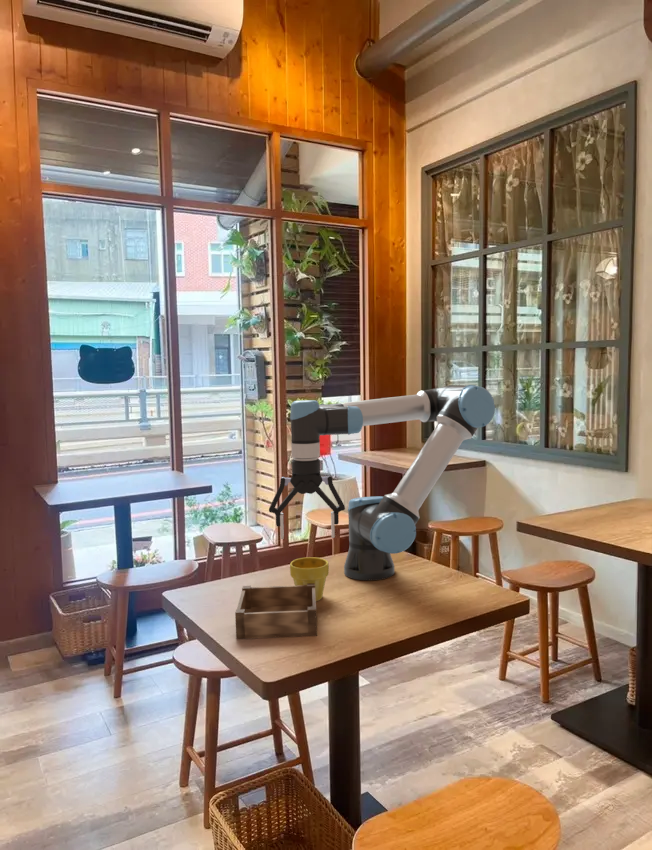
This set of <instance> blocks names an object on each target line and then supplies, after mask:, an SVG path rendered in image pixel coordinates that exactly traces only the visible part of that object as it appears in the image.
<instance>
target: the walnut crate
mask: <svg viewBox="0 0 652 850" xmlns="http://www.w3.org/2000/svg"><path fill="white" fill-rule="evenodd" d="M241 590H242V591H241V593H240V597H239V601H238V604H237V606H236V607H237V608H236V609H235V611H234V612H235V613H234V615H235V637H236V640H238V639H239V640H243V639H247V640H248V639H265V638H266V639H267V638H289V637H293V638H294V637H297V638H298V637H315V636H316V637H317V636H318V623H317V622H318V620H317V604H316V603H317V601H316V596H315V583H309V584H307V585H296V586H295V585H279V586H275V585H274V586H251V585H242V587H241Z"/></svg>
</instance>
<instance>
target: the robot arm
mask: <svg viewBox="0 0 652 850" xmlns="http://www.w3.org/2000/svg"><path fill="white" fill-rule="evenodd" d="M495 413H496V405H495V400H494V397H493V396H492V394H491V393H490V391H489V390H488V389H486V388H485V387H482V386H481V385H479V386H478V385H475V384H468V385H458V384H450V385H449V384H448V385H444V386H440V387H436V388H435V387H434V388H431V389H425V390H423V389H422V390H419V391H418V392H417V393H416V394H409V395H401V396H399V395H398V396H392V397H381V398H374V399H366V400H354V401H346V402H340V403H330V404H329V403H328V404H327V403H326V404H325V403H321V404H320V403H319V401H318V400H313V399H312V400H311V399H309V400H305V399H304V400H294V401H293V402H291V404H290V417H289V420H290V435H291V442H290V447H291V449H290V450H291V451H290V452H291V453H290V454H291V458H292V461H291V477H286V476H281V477H280V483H279V486H278V488H277V491H276V493H275V495H274V498H273V499H272V502H271V504H270V505H269V509H268V512H269V513H273V514H274V515H275V525H276V527H280V540H284V537H285V531H284V512H283V510H285V508H286V507H287V506H288V505H289V503H290V502H291V500H293V499H294V497H295V496H296V495H297V494H298V493H299V494H300V495H305V494H309V495H312V494H314V493H316V494H317V495H318V496H319V498H321V499H322V500H323V502H325V504H326V505H327V506H328V507H329V508H330V509H331V510H332V511H330V527H331V528H330V529H331V531H330V532H331V533H330V534H331V538H332V539H333V538H335V536H336V534H335V532H336V531H335V525H339V513H340V512H342V511H345V510H346V506H345V504H344V502H343V500H342V498H341V496H340V495H339V492H338V491H337V489H336V487H335V486H334V482H333V477H332V475H330V474H329V475H327V476H321V460H320V459H319V458H320V457H321V452H320V451H321V449H320V447H321V445H320V442H321V441H320V436H332V435H333V436H334V435H335V436H337V435H348V436H349V435H351V434H352V435H355V434H359V433H361V431H362V429H363V427H367V426H374V425H375V426H376V425H383V424H389V423H390V424H392V423H393V424H394V423H400V422H408V421H417V420H419V421H420V422H422V423H427V422H436V423H437V425H436V427H435V428H434V430H433V431H432V432H431V433H430V436H429V437H428V438H427V440H426V442H425V443H424V444H423V446H422V447H421V449H420V451H419V452H418V453H417V454H416V457H415V458H414V460H413V461H412V463H411V464H410V466H409V467H408V469H407V470H406V472H405V474H404V475H403V477H402V478H401V479H400V481H399V482H398V484H397V486H396V487H395V489H394V490H393V492H391V493H388V494H384V496H381V495H380V496H376V495H375V496H362V497H355V498H351V499H350V500H348V509H347V512H348V514H347V515H348V541H349V543H348V544H349V548H348V551H347V555H346V558H345V562H344V566H343V573H344V575H345V576H346V577H348V578H350V579H352V580H353V579H354V580H359V581H379V580H384V579H388V578H391V577H392V576H394V575H395V563H394V560H393V557H392V554H394V555H395V554H400V553H403V552H404V551H406V550H407V549H409V548H410V547H411V546H412V544H413V542H415V539H416V537H417V530H416V529H417V526H416V524H417V523H418V521H419V520H420V513H419V510H420V508H421V507H422V505H423V503H424V502H425V500H426V499H427V497H429V494H430V493H431V491H432V490H433V488H434V487H435V485H436V483H437V482H438V481H439V479H440V477H441V476H442V474H443V473H444V471H445V470H446V468H447V466H449V463H450V462H451V461H452V458H453V457H454V456H455V454H456V453H457V451H458V450H459V448H460V446H461V445H462V443H463V442H464V441H466V440H471V439H472V437H473V436H474V435H475V433H476V432H477V431H478V429H479V428H483V427H486V426H487V425H489V424H490V423H491V422H492V420H493V419H494V416H495ZM323 482H324V484H325V485H327V486H328V488H329V490H330V491H331V493H332V496H333V497H334V499H335V501H336V503H337V505H338V506H337V505H336V504H335V503H334V502H333V501H332V500H331V498H330V497H328V495H327V494H326V493H325V492H324V491H323V489H322V488H321V487H320V485H321V484H322V483H323ZM289 483H290V484H291V485H292V486H293V488H292V490H290V492H289V493H288V495H286V497H285V498H284V499H283V500H282V502H281V503H280V504H279V505H278V506H277V504H278V502H279V500H280V498H281V496H282V495H283V494H282V493H283V491H284V490H285V487H287V486H288V485H289ZM276 506H277V507H276Z"/></svg>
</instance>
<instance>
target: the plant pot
mask: <svg viewBox="0 0 652 850" xmlns="http://www.w3.org/2000/svg"><path fill="white" fill-rule="evenodd" d="M329 566H330V565H329V561H328V560H327V559H325V558H322V557H313V556H311V557H310V556H307V557H299V558H296V559H293V560H292V561H290V564H289V573H290V577H291V578H292V580H293V583H294V586H296V585H307V584H309V583H315V596H316V602H317V601H320V600H322V598H323V594H324V589H325V584H326V579H327V577H328V576H329V573H330V572H329V570H330V569H329Z"/></svg>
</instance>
